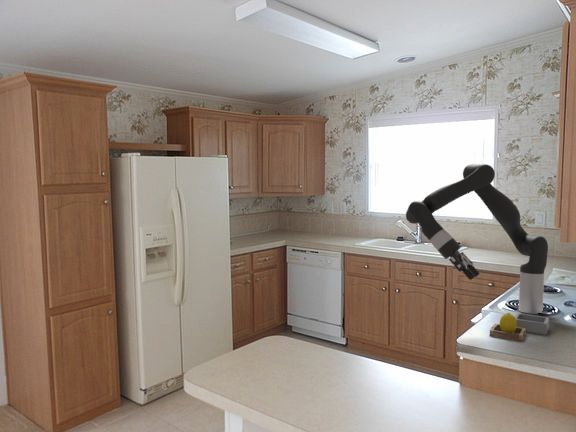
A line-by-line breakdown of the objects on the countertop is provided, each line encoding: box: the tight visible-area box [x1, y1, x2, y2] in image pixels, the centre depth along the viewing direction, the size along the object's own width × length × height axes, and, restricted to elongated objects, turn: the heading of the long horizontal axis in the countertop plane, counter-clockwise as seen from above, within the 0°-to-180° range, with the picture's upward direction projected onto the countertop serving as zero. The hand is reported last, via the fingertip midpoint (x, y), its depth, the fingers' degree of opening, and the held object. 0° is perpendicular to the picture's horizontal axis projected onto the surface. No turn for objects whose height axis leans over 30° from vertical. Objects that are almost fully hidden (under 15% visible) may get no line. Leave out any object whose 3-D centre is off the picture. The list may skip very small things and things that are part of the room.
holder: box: [514, 312, 550, 336], centre depth 172 cm, size 11×11×4 cm
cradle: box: [489, 323, 527, 342], centre depth 164 cm, size 10×10×2 cm
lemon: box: [499, 312, 517, 333], centre depth 164 cm, size 6×6×8 cm
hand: (475, 276), depth 170 cm, fingers open, 8 cm apart
